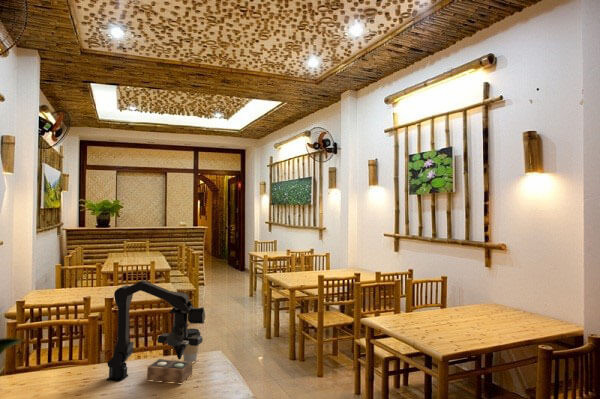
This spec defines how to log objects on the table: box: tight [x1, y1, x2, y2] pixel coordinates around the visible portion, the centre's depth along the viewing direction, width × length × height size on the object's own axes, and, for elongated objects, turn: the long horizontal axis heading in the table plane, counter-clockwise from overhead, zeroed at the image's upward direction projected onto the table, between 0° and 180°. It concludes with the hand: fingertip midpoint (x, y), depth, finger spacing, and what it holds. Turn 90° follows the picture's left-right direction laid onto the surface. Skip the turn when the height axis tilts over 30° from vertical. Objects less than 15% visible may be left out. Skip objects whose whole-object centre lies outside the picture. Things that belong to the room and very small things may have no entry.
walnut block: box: [146, 358, 193, 384], centre depth 180 cm, size 16×10×6 cm, turn 80°
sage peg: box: [174, 363, 184, 367], centre depth 179 cm, size 4×4×6 cm
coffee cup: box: [182, 328, 202, 362], centre depth 199 cm, size 9×9×15 cm
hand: (179, 359), depth 179 cm, fingers closed
